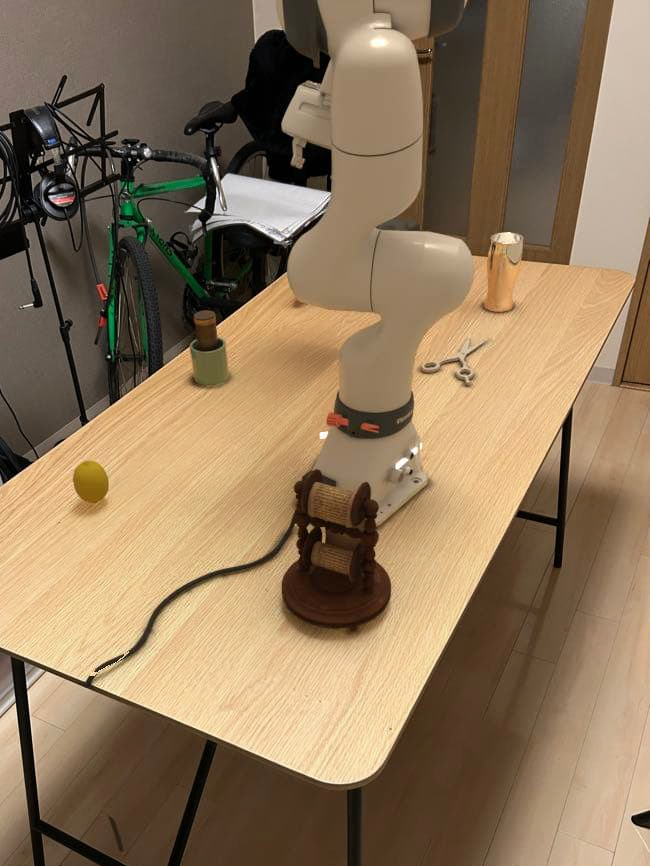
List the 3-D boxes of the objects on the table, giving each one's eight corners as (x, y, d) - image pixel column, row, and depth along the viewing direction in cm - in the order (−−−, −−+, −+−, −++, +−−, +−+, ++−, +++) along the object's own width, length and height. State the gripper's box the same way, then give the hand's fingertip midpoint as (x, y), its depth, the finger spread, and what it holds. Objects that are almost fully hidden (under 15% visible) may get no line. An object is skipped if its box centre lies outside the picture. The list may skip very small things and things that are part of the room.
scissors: (416, 370, 158) (456, 328, 171) (416, 374, 159) (456, 332, 171) (468, 382, 153) (506, 338, 166) (468, 386, 154) (505, 341, 166)
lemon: (96, 488, 137) (87, 448, 132) (119, 499, 134) (110, 458, 129) (71, 505, 134) (61, 464, 129) (94, 516, 131) (84, 475, 126)
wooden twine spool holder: (407, 581, 114) (415, 461, 101) (363, 651, 105) (366, 529, 92) (312, 551, 120) (308, 435, 108) (262, 615, 111) (252, 496, 98)
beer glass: (480, 312, 178) (488, 243, 169) (483, 299, 183) (490, 231, 174) (514, 313, 176) (523, 244, 167) (515, 300, 181) (525, 232, 172)
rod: (214, 382, 161) (207, 320, 153) (197, 378, 163) (189, 317, 155) (225, 373, 164) (219, 312, 156) (208, 369, 166) (201, 308, 157)
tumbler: (216, 390, 160) (213, 355, 155) (187, 383, 163) (182, 348, 158) (235, 374, 164) (232, 339, 160) (206, 368, 168) (202, 333, 163)
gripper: (291, 71, 143) (262, 153, 148) (383, 98, 133) (349, 185, 138) (311, 84, 148) (283, 163, 153) (401, 111, 138) (368, 194, 143)
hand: (315, 174), depth 145 cm, fingers open, 8 cm apart
